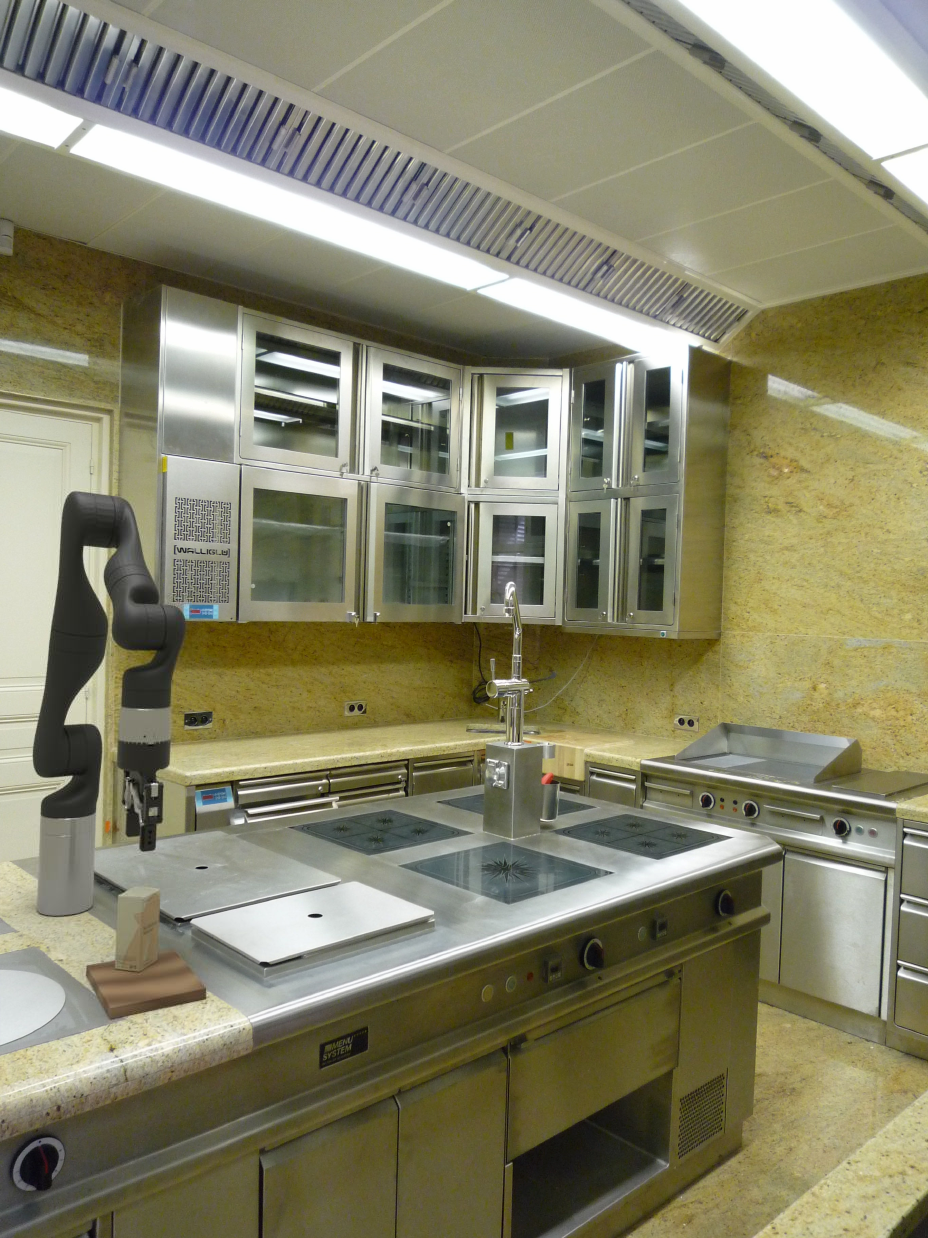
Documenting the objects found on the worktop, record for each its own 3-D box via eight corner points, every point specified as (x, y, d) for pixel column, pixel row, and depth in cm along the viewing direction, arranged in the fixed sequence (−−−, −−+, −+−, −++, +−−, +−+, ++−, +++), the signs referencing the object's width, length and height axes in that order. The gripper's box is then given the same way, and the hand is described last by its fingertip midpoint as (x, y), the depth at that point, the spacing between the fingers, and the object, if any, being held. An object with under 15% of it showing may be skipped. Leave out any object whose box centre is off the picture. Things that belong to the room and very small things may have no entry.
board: (85, 975, 131) (86, 965, 131) (173, 959, 139) (174, 950, 139) (110, 1019, 118) (110, 1008, 118) (205, 998, 125) (206, 988, 125)
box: (139, 973, 130) (142, 898, 129) (113, 969, 130) (116, 895, 130) (158, 959, 135) (161, 887, 135) (133, 956, 136) (136, 884, 135)
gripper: (107, 730, 136) (103, 834, 137) (130, 745, 124) (125, 859, 125) (157, 728, 140) (153, 829, 141) (183, 742, 129) (178, 852, 129)
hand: (140, 843), depth 133 cm, fingers open, 8 cm apart
